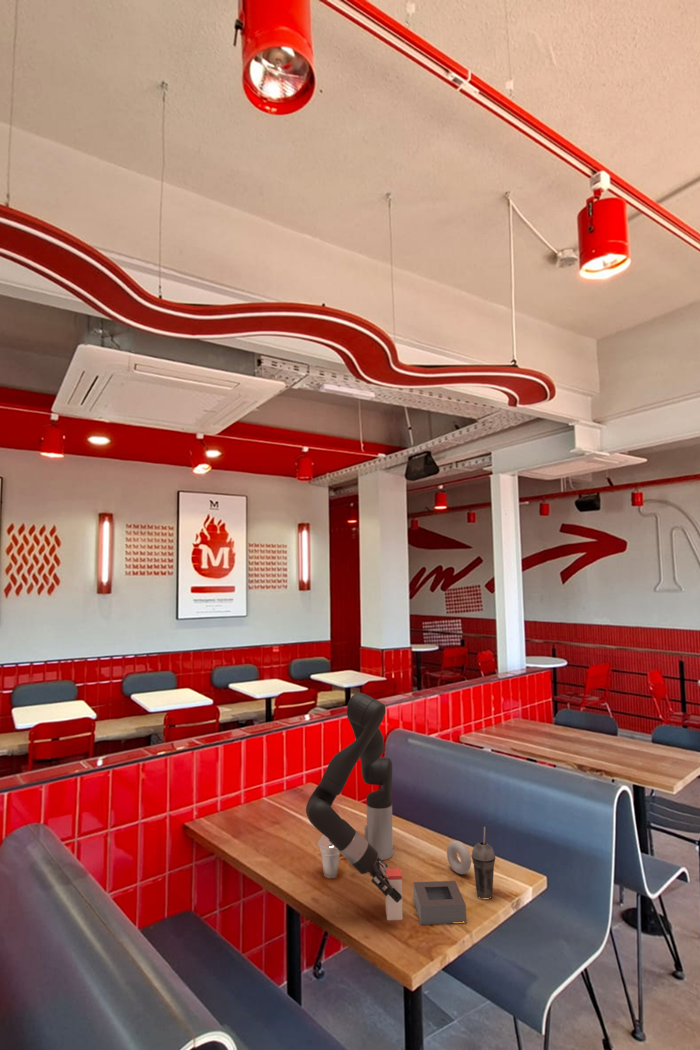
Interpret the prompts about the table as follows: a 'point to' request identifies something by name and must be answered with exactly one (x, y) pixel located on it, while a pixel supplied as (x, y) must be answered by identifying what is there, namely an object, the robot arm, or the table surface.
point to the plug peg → (391, 906)
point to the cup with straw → (329, 857)
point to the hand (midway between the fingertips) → (397, 891)
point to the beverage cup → (483, 868)
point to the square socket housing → (439, 902)
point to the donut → (453, 859)
